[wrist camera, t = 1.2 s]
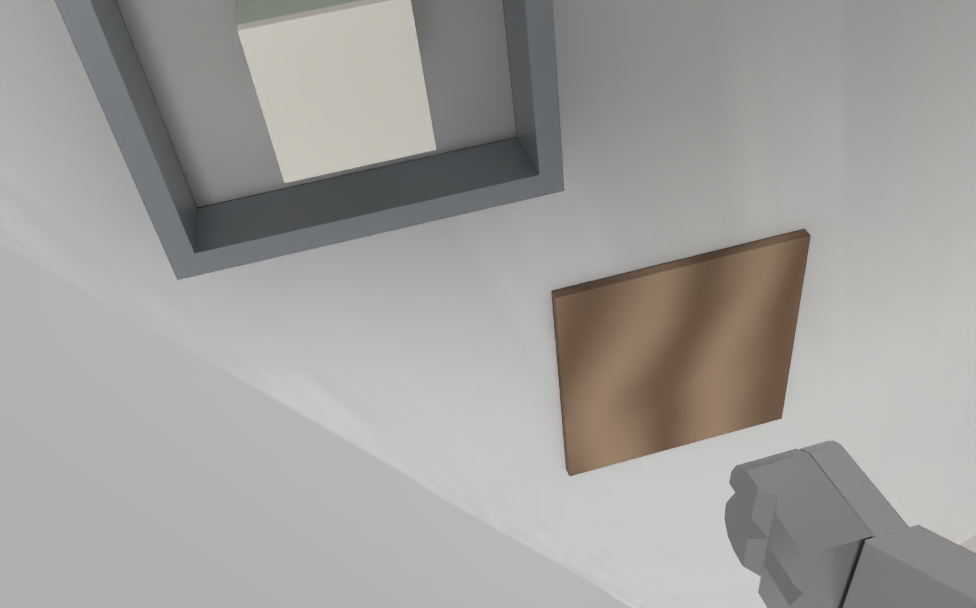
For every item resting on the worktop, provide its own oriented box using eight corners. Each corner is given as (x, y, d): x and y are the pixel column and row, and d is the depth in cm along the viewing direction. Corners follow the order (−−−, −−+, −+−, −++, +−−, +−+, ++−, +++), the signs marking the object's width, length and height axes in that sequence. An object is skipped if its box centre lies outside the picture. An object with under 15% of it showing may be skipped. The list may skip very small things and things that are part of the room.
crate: (504, -278, 27) (534, -272, 25) (540, 152, 37) (564, 190, 35) (2, -198, 26) (-25, -181, 23) (181, 233, 36) (177, 279, 33)
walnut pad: (804, 229, 44) (810, 235, 44) (776, 411, 53) (781, 418, 52) (551, 291, 42) (555, 298, 42) (566, 468, 51) (569, 476, 51)
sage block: (373, -72, 30) (410, -4, 24) (398, 59, 33) (436, 149, 27) (235, -46, 30) (237, 30, 24) (274, 85, 33) (284, 182, 27)
